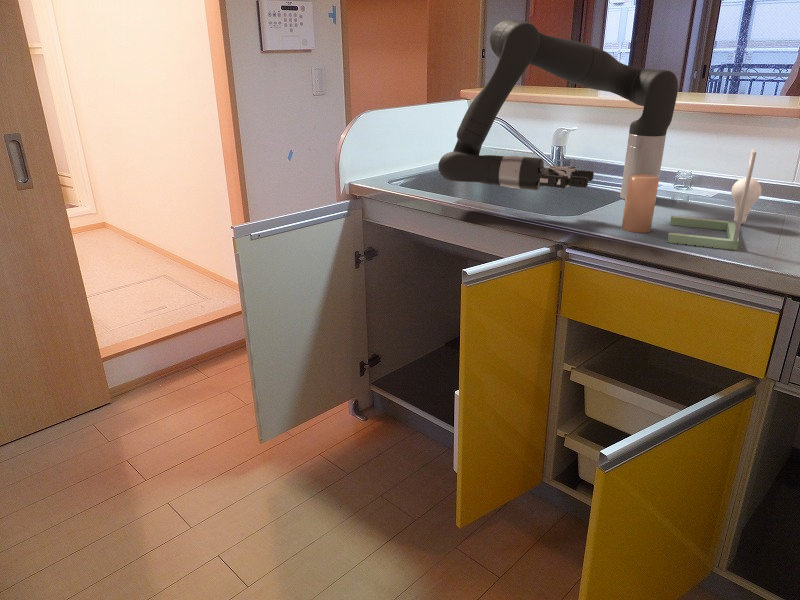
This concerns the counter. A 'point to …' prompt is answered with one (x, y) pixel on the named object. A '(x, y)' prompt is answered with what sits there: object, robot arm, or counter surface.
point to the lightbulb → (751, 198)
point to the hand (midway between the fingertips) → (590, 179)
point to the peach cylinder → (640, 203)
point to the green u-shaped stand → (714, 224)
